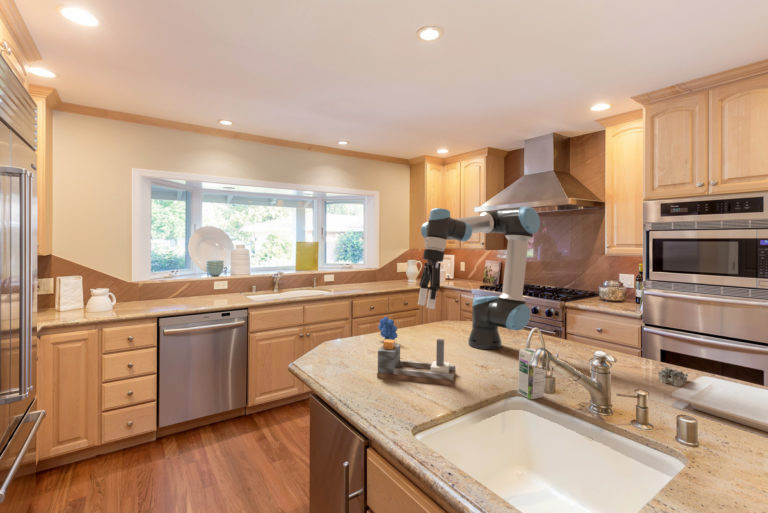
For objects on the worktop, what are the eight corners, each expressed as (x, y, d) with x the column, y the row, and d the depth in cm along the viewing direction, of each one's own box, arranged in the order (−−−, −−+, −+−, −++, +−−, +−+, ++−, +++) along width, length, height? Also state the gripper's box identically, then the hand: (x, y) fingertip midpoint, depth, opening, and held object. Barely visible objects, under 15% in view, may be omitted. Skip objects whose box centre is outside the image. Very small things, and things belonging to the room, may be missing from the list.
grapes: (372, 341, 184) (373, 316, 184) (382, 338, 189) (382, 314, 189) (391, 345, 176) (391, 320, 176) (400, 342, 182) (400, 318, 181)
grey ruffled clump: (680, 388, 128) (681, 377, 128) (655, 382, 134) (655, 371, 133) (690, 381, 134) (690, 370, 134) (665, 375, 140) (666, 365, 140)
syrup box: (517, 393, 123) (518, 349, 122) (531, 390, 125) (532, 347, 124) (530, 400, 117) (531, 354, 117) (544, 397, 120) (545, 352, 119)
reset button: (395, 347, 142) (395, 340, 142) (392, 350, 139) (392, 342, 138) (386, 347, 143) (386, 339, 143) (383, 349, 139) (383, 341, 139)
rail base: (455, 373, 140) (455, 348, 140) (452, 385, 129) (452, 358, 128) (385, 366, 148) (385, 342, 147) (376, 377, 136) (377, 351, 136)
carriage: (449, 370, 139) (449, 338, 138) (447, 377, 132) (447, 343, 131) (433, 368, 140) (433, 336, 140) (430, 375, 133) (430, 341, 133)
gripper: (417, 250, 152) (409, 302, 150) (433, 246, 127) (423, 308, 126) (435, 253, 153) (427, 305, 151) (454, 249, 128) (445, 311, 127)
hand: (425, 306), depth 139 cm, fingers open, 13 cm apart
